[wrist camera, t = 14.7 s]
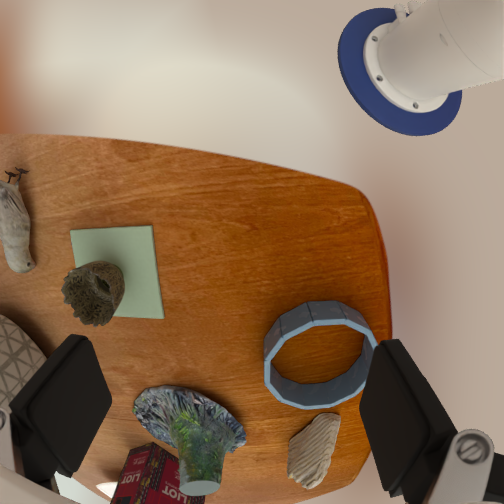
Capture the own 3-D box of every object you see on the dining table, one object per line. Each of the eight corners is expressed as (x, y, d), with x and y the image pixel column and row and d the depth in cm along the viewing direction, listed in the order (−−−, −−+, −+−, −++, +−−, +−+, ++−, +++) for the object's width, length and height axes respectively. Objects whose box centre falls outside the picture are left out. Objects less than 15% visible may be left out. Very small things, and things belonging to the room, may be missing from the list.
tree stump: (127, 369, 43) (115, 452, 27) (244, 372, 49) (273, 451, 32) (137, 435, 48) (135, 507, 31) (233, 436, 53) (253, 505, 36)
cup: (148, 287, 38) (125, 316, 30) (110, 306, 39) (84, 334, 31) (119, 239, 36) (89, 258, 28) (83, 262, 37) (52, 283, 29)
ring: (263, 302, 39) (263, 321, 34) (375, 298, 38) (389, 315, 33) (263, 389, 43) (264, 411, 38) (359, 382, 43) (367, 402, 38)
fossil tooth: (344, 411, 46) (301, 457, 49) (317, 404, 45) (275, 453, 48) (365, 455, 35) (312, 500, 38) (334, 452, 34) (282, 498, 37)
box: (130, 449, 51) (104, 518, 32) (153, 442, 49) (129, 519, 30) (182, 482, 54) (169, 547, 35) (208, 476, 53) (197, 547, 34)
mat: (71, 229, 36) (69, 230, 36) (152, 225, 36) (151, 226, 35) (88, 312, 40) (86, 314, 40) (164, 316, 40) (163, 318, 39)
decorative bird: (25, 266, 38) (-3, 282, 31) (11, 170, 34) (-21, 174, 26) (46, 266, 38) (18, 283, 31) (32, 163, 33) (-1, 167, 26)
